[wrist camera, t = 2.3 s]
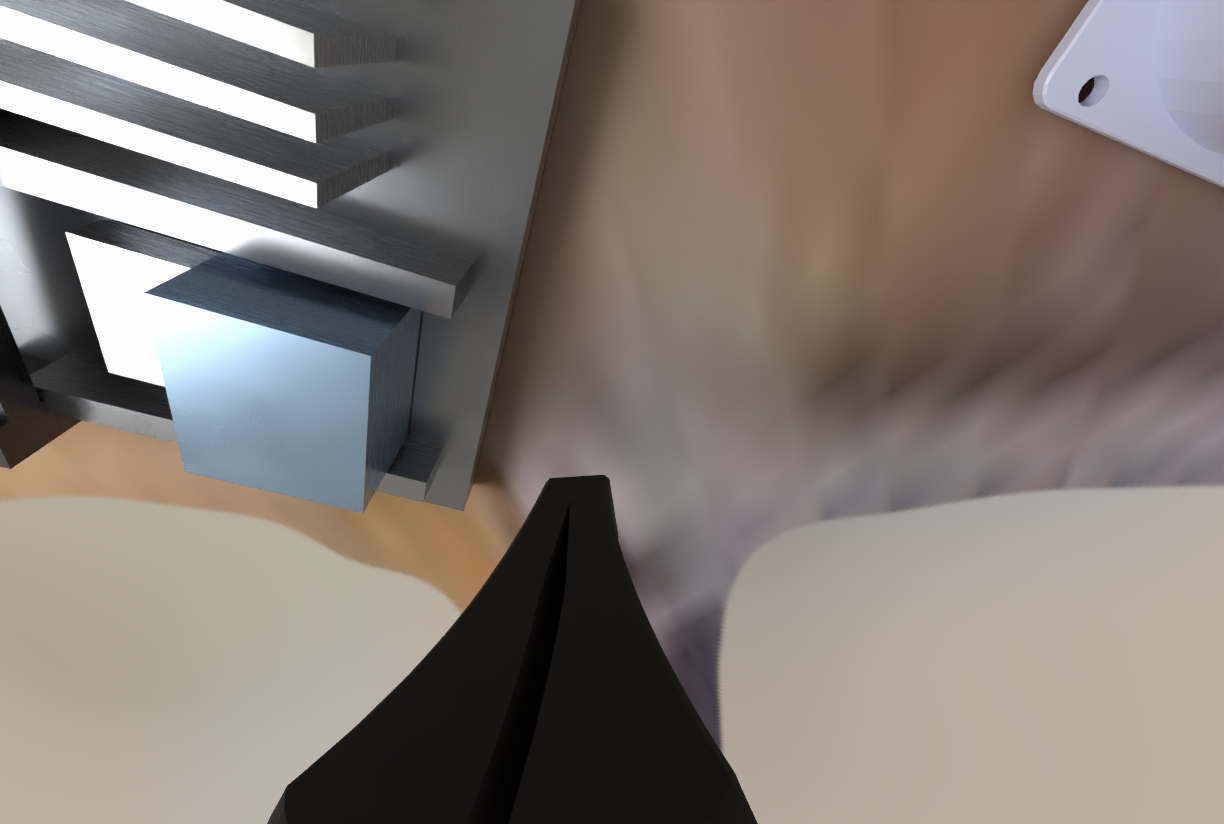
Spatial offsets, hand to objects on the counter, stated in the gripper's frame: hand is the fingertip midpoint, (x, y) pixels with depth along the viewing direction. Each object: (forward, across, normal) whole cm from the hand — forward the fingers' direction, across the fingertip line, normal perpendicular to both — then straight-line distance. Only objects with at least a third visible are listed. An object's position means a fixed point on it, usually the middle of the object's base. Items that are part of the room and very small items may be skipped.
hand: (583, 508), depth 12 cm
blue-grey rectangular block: (+3, +8, -4) cm, 9 cm away
